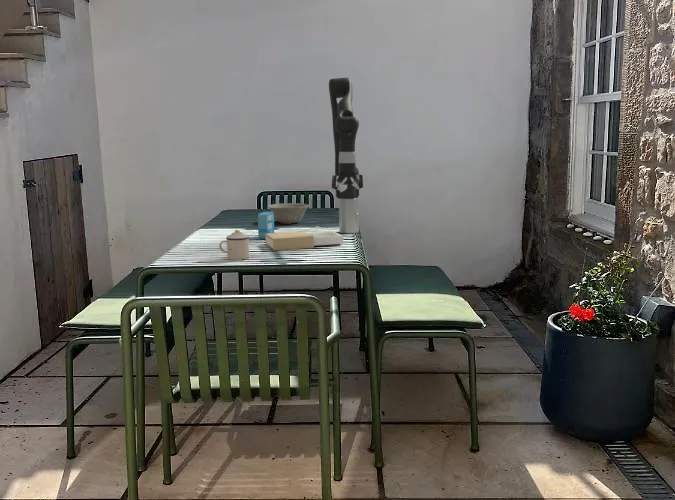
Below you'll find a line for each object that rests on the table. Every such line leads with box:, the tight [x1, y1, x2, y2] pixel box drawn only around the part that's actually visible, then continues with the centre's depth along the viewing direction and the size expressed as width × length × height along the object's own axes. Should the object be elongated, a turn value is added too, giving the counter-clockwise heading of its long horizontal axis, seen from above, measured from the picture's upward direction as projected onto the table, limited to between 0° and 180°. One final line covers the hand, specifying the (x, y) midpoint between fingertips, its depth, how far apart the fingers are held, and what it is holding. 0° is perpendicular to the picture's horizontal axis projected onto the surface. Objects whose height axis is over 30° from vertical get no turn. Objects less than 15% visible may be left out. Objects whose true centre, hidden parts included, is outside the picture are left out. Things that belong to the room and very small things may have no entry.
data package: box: [257, 211, 275, 240], centre depth 318 cm, size 12×4×12 cm, turn 170°
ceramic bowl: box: [267, 202, 310, 225], centre depth 368 cm, size 22×23×10 cm
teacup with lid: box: [218, 229, 250, 261], centre depth 265 cm, size 12×9×12 cm
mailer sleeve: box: [264, 230, 315, 251], centre depth 293 cm, size 18×16×5 cm
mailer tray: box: [265, 231, 344, 248], centre depth 295 cm, size 32×14×4 cm, turn 109°
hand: (347, 198), depth 299 cm, fingers open, 8 cm apart
